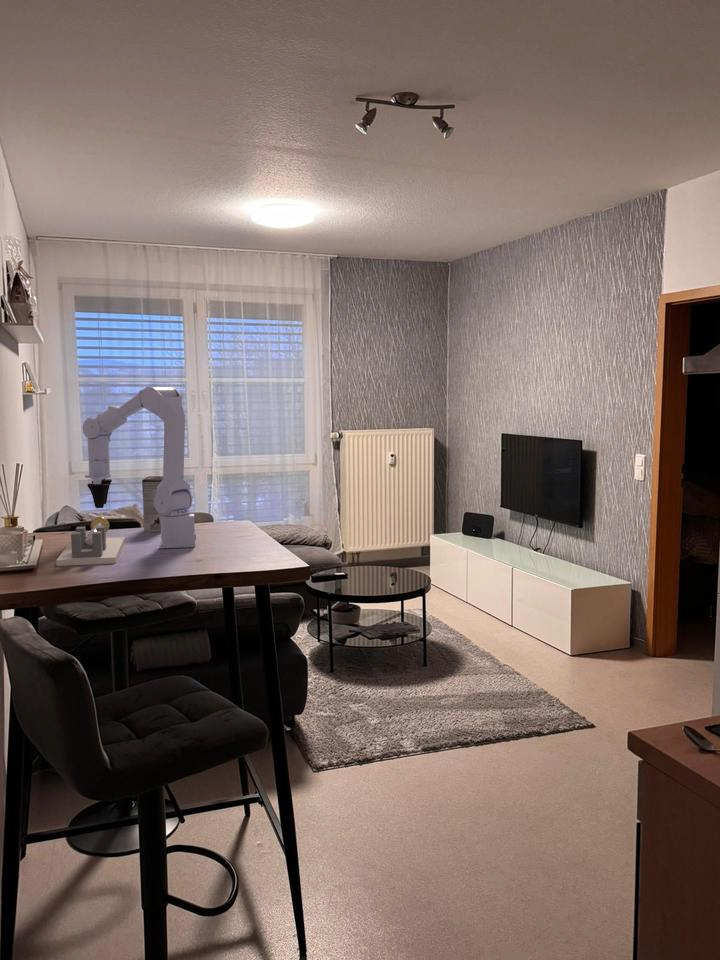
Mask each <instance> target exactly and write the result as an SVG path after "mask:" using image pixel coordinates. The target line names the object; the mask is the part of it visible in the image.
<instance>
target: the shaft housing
mask: <svg viewBox="0 0 720 960" xmlns="http://www.w3.org/2000/svg"><path fill="white" fill-rule="evenodd" d="M86 531H87V529H86V526H77V527H76V528H75V531H73V532H72V533H71V534H70V542H69V543H68V544H67V546H66V547H65V548H64V549H63V551H62V552H61V554H60V555H59V556H58V557H57V559H56V560H55V563H56V567H65V566H67V567H68V566H69V567H70V566H85V565H105V564H107V565H108V564H110V565H111V564H116V563H117V562H118V560H119V557H120V554H121V552H122V550H123V548H124V546H125V544H126V540H125V539H126V537H124V536H123V537H107V536H106V535H107V532H106V530H105V526H97V527H96V531H94V532H93V533H92V542H93V544H92V545H87V544H86V543H85V538H86V537H87V535H86V534H87V533H86Z"/></svg>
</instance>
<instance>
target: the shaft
mask: <svg viewBox="0 0 720 960" xmlns="http://www.w3.org/2000/svg"><path fill="white" fill-rule="evenodd" d="M97 526H105V530H106V533H107V532H108V531H109V529H110V522H109V520H108V519H107V518H106V517H103V516H97V517H95V518H93V519H92V521H91V522H90V531H89V533H88V534H87V535H86V538H85V543H86V544H87V545H92V544H93V542H92V533H93V532H94V531H96V527H97Z"/></svg>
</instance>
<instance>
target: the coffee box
mask: <svg viewBox="0 0 720 960" xmlns="http://www.w3.org/2000/svg"><path fill="white" fill-rule="evenodd" d="M162 480H163V476H162V475H161V476H160V475H155V476H154V475H151V476H150V475H149V476H147V477H145V478H143V479H142V480H141V485H142V489H141V490H142V511H143V512H142V513H143V515H142V516H143V532H149V533H150V532H156V533H157V532H160V533H161V517H160V515H159V513H158V512H157V511H156V509H155V507H154V498H155V496H156V493H157V487H158V485H159V484H160V483H161V481H162Z"/></svg>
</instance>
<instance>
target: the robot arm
mask: <svg viewBox="0 0 720 960" xmlns="http://www.w3.org/2000/svg"><path fill="white" fill-rule="evenodd" d="M143 409H146V410H147V411H149V412H150V413H152V414H154V415H155V416H157V417H158V418H159V419H160V420H161V421H162V422H163V459H162V460H163V463H162V465H163V466H162V467H163V470H162V477H163V480H162V481H161V483H160V484H159V485H158V487H157V493H156V496H155V498H154V507H155V509H156V511H157V512H158V513H159V515H160V517H161V532H160V537H161V538H160V539H161V540H160V542H159V543H160V544H159V549H178V548H182V549H183V548H195V547H196V541H197V533H196V530H195V529H196V527H195V525H196V524H195V513H189V509H190V508H191V507H192V505H193V496H192V493H191V485H190V484H189V483H188V482H187V481H186V480H185V479H184V477H185V476H184V475H185V473H184V472H185V434H186V431H185V429H186V414H185V411H184V408H183V395H182V394H181V393H180V391H178V390H177V388H175V387H174V386H165V387H164V386H163V387H162V386H146V387H144V388H143V389H141V390H139V391H138V393H137V394H135V395H134V396H133V397H132V398H131V399H129V400H127V401H126V402H124V404H122V405H121V406H119V405H109V406H108V407H107V410H105V411H103V412H102V413H98V414H97V415H96V417H95V418H94V417H93V418H92V417H89V418H86V419H85V420H84V422H83V424H82V432H83V435H84V436H85V438H87V450H88V451H87V453H88V472H89V473H88V474H85V475H84V478H85V479H86V478H89V479H91V480H92V481H91V483H88V484H87V487H88V489H89V491H90V493H91V495H92V499H93V504H94V507H95V509H104V506H105V505H106V504H107V502H108V494H109V491H110V486H111V484H112V482H113V479H110V478H112V475H111V469H110V467H111V465H110V447H109V445H110V442H111V436H112V434H113V431H115V430H117V429H118V428H120V427H121V426H123V425H125V424H126V423H127V421H128V417H130V416H132V415H134V414H136V413H137V412H139V411H141V410H143Z"/></svg>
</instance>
